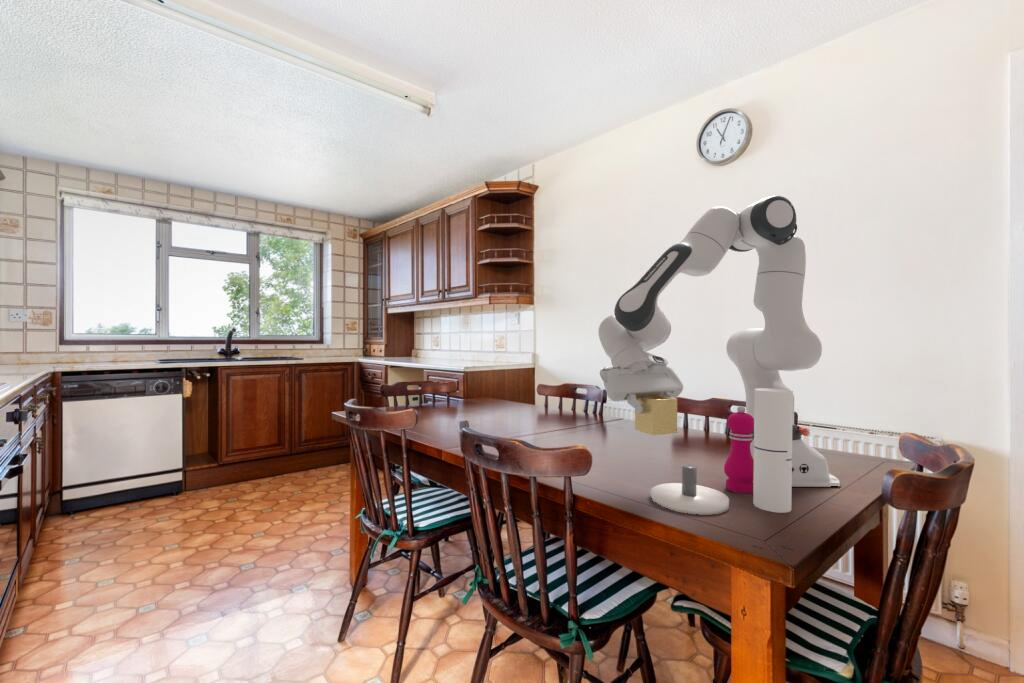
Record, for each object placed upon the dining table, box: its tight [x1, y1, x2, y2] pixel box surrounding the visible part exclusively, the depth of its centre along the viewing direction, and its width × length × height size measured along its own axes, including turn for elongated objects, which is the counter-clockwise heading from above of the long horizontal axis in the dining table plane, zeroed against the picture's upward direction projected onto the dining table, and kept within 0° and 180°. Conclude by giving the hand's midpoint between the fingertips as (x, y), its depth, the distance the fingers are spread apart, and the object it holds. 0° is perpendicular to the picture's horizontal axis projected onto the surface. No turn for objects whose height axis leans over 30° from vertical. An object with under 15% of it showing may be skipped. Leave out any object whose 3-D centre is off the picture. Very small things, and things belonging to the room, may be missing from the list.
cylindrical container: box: [752, 388, 794, 514], centre depth 99 cm, size 7×7×25 cm
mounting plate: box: [650, 464, 730, 516], centre depth 102 cm, size 16×16×8 cm
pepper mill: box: [723, 405, 754, 494], centre depth 110 cm, size 7×7×20 cm
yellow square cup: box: [634, 395, 678, 436], centre depth 109 cm, size 7×7×8 cm
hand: (657, 411), depth 108 cm, fingers closed on yellow square cup, 7 cm apart
